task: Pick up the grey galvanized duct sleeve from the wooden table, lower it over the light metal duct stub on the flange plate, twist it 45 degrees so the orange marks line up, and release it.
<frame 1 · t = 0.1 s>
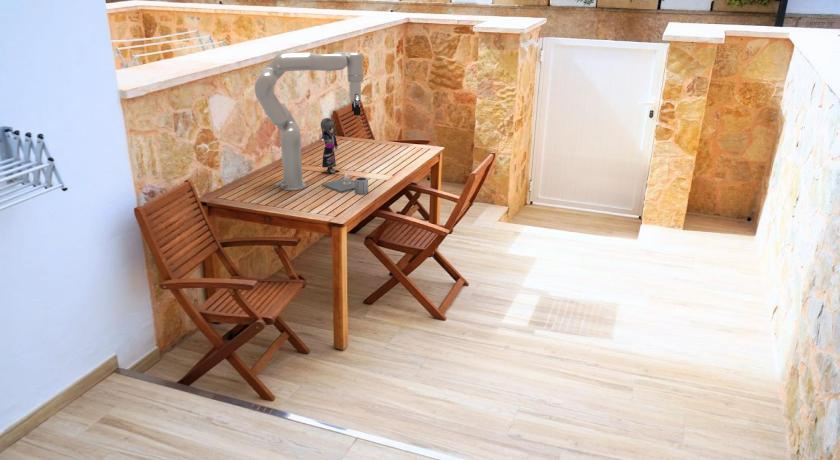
hand: (356, 113, 336), 37 cm above the table, fingers open, 9 cm apart
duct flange: (344, 186, 347), on the table
figurine: (327, 174, 367), on the table
duct sleeve: (361, 192, 337), on the table
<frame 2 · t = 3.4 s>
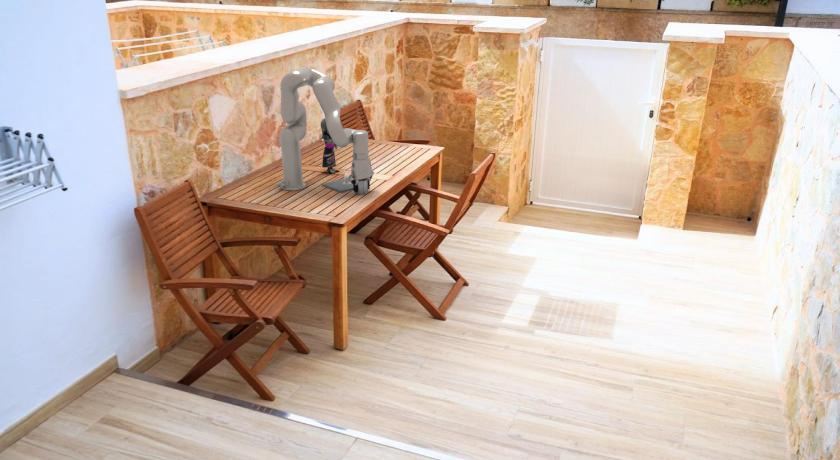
hand: (361, 190, 337), 1 cm above the table, fingers closed on duct sleeve, 6 cm apart
duct sleeve: (361, 192, 337), on the table, touching gripper
everything else where it was.
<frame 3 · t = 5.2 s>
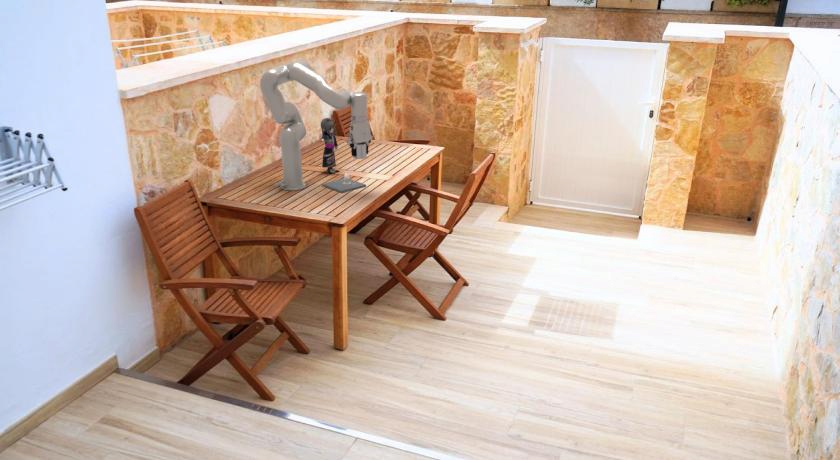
hand: (359, 154, 331), 19 cm above the table, fingers closed on duct sleeve, 6 cm apart
duct sleeve: (359, 157, 331), point 18 cm above the table, touching gripper
everything else where it was.
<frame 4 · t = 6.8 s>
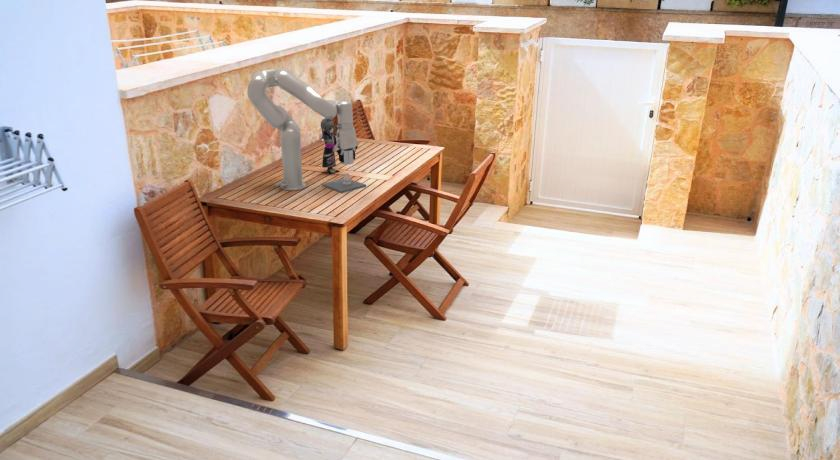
hand: (347, 160, 343), 13 cm above the table, fingers closed on duct sleeve, 6 cm apart
duct sleeve: (347, 162, 344), point 12 cm above the table, touching gripper
everything else where it was.
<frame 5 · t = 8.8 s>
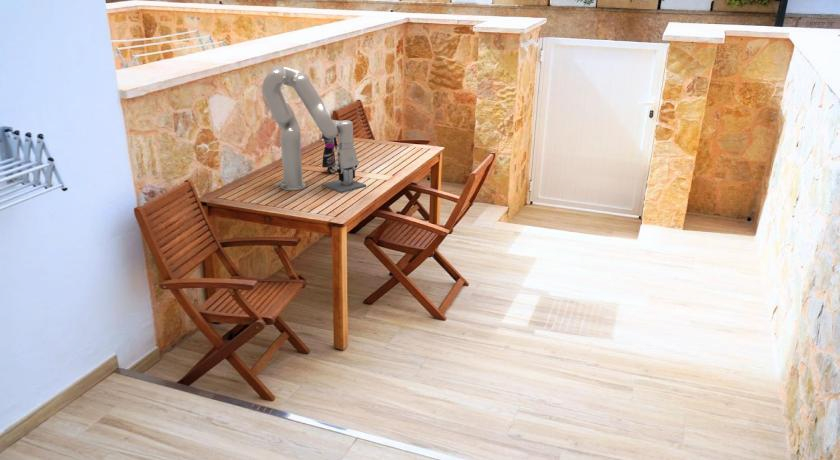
hand: (347, 179, 347), 3 cm above the table, fingers closed on duct sleeve, 6 cm apart
duct sleeve: (346, 181, 347), point 2 cm above the table, touching gripper
everything else where it was.
when the fingers open (3 cm above the table, at t = 10.4 s): duct sleeve stays where it is, resting on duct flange.
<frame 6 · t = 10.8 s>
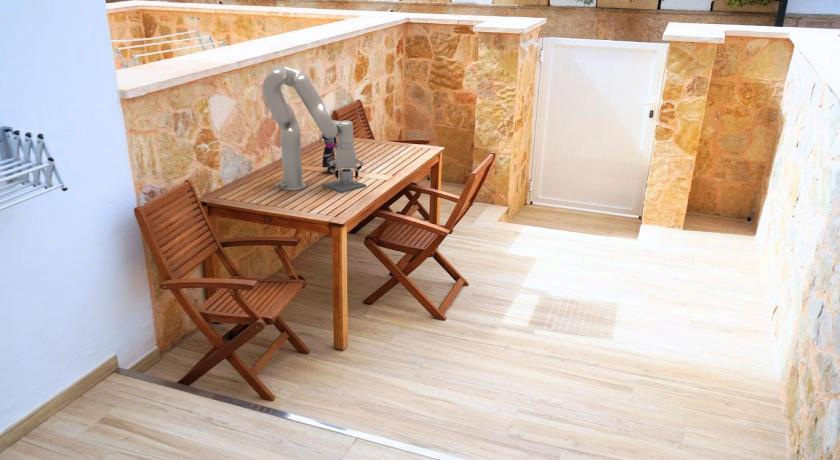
hand: (346, 178, 347), 4 cm above the table, fingers open, 9 cm apart
duct sleeve: (346, 183, 348), point 1 cm above the table, touching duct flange
everything else where it was.
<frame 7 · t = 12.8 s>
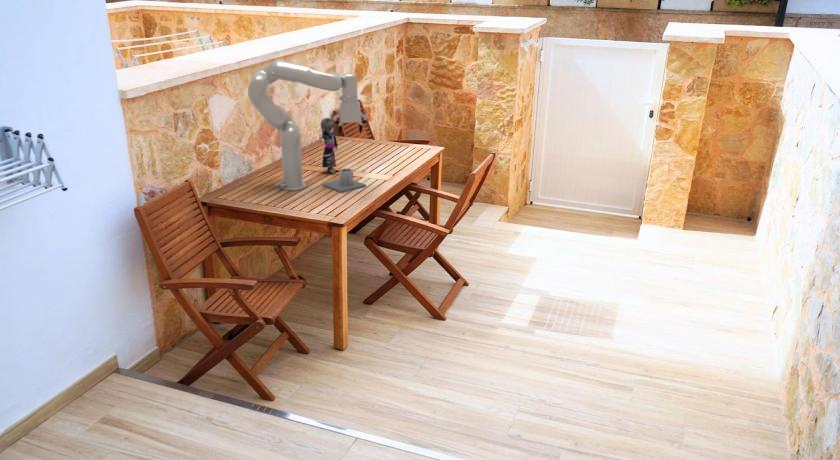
hand: (350, 133, 339), 27 cm above the table, fingers open, 9 cm apart
nothing on the table moved.
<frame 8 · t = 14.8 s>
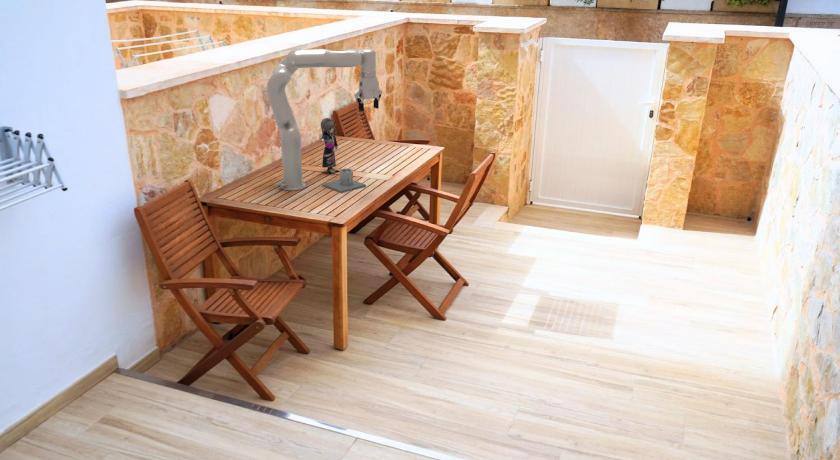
hand: (368, 109, 339), 38 cm above the table, fingers open, 9 cm apart
nothing on the table moved.
at the end: duct sleeve 0.2 cm from the target spot on the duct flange, point 1.0 cm above the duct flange's base; duct sleeve tilted 0°; the gripper is holding nothing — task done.
